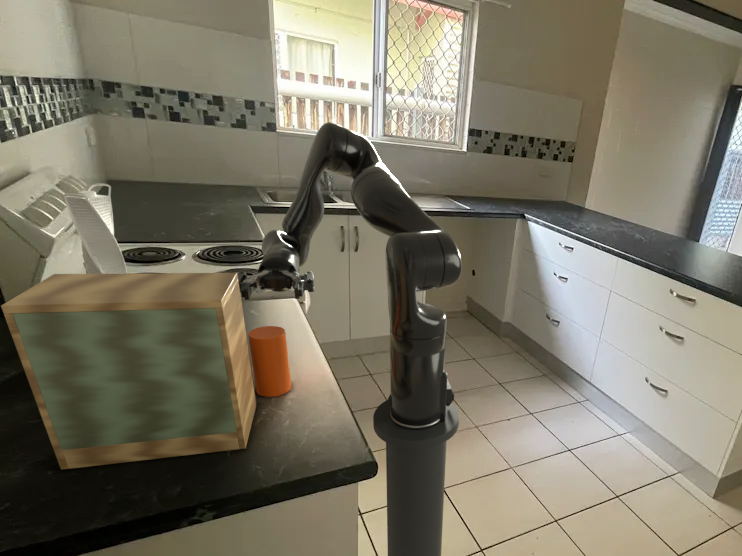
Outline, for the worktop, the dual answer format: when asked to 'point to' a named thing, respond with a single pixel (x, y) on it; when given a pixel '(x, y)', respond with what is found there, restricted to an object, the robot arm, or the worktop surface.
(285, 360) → the can
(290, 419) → the worktop surface
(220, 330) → the shelf unit
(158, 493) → the worktop surface
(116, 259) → the box grater
